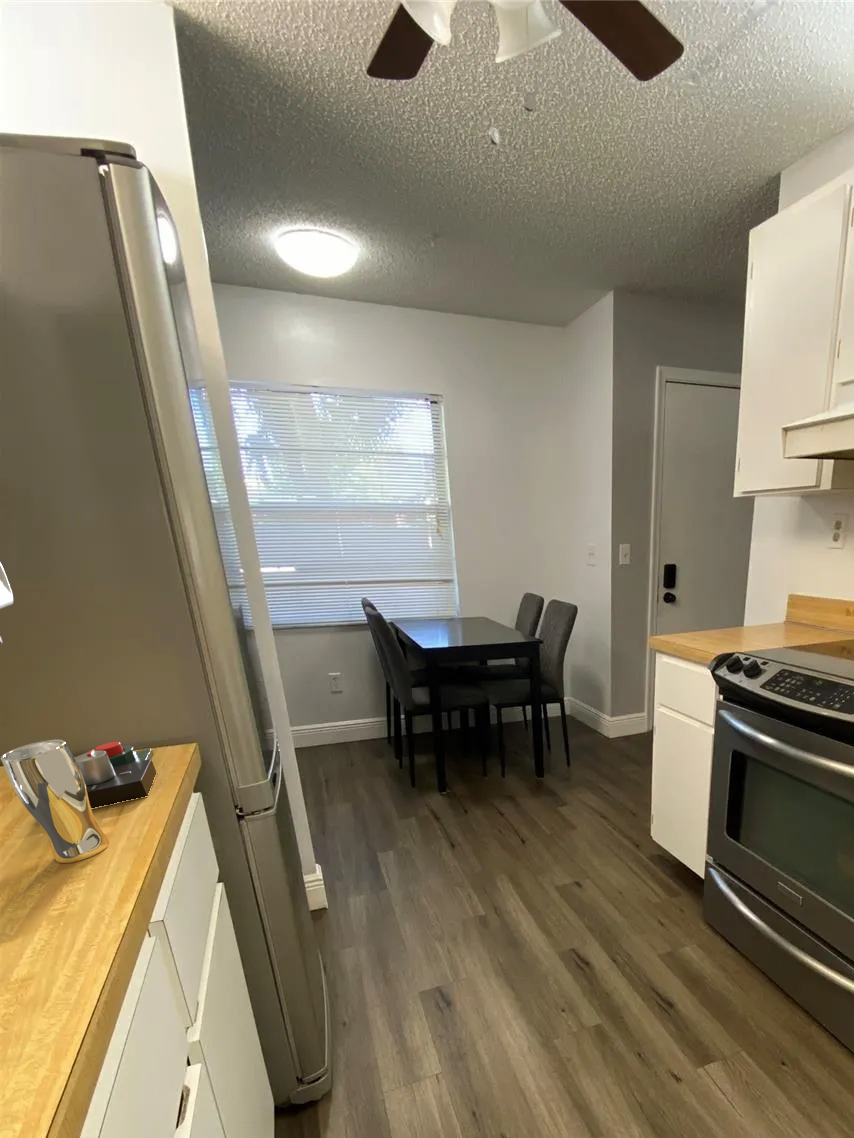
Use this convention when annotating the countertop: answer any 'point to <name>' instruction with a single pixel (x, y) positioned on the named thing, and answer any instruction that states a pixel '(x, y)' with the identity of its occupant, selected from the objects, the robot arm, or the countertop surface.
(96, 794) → the panel
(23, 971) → the countertop surface
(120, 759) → the switch block
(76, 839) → the beer glass
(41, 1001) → the countertop surface
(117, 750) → the button
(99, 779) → the knob
